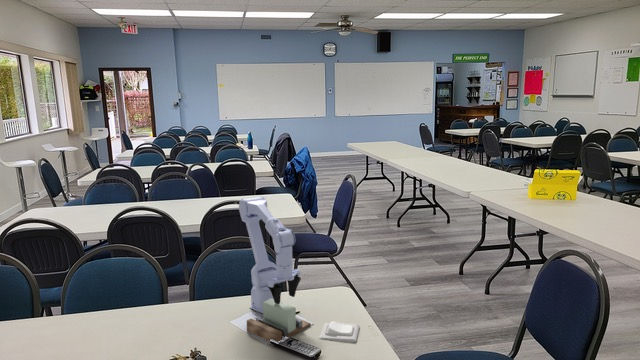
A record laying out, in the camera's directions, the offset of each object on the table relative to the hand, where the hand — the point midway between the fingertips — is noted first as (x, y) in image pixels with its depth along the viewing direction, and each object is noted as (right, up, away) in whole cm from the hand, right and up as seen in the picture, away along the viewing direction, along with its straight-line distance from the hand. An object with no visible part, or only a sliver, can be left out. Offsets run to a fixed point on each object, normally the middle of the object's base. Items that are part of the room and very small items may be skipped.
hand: (284, 299), depth 162 cm
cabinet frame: (-2, -10, -2) cm, 10 cm away
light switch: (+20, -11, -4) cm, 23 cm away
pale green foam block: (-2, -9, -2) cm, 9 cm away
